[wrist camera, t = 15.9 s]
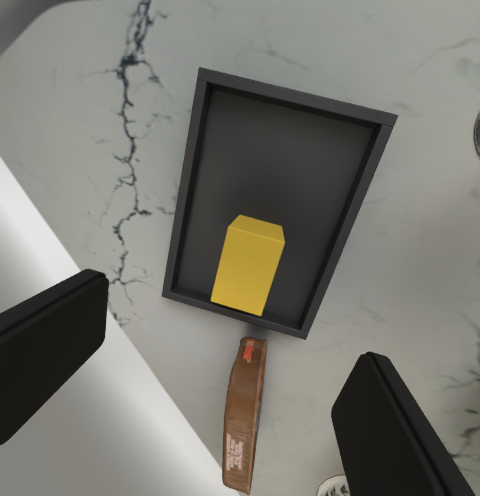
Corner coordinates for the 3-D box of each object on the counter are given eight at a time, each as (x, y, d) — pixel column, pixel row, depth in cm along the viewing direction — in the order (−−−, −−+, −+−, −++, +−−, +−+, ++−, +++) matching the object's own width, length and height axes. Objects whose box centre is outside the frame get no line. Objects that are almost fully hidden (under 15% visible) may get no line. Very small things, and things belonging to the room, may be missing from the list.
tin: (258, 426, 29) (253, 521, 21) (233, 422, 29) (218, 513, 21) (269, 321, 25) (267, 390, 17) (239, 318, 25) (224, 383, 17)
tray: (206, 78, 19) (198, 66, 17) (385, 121, 18) (398, 114, 16) (170, 287, 25) (161, 296, 23) (303, 327, 24) (305, 340, 22)
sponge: (224, 273, 23) (210, 301, 18) (239, 214, 21) (228, 226, 16) (263, 284, 23) (261, 316, 18) (282, 226, 21) (285, 242, 16)
